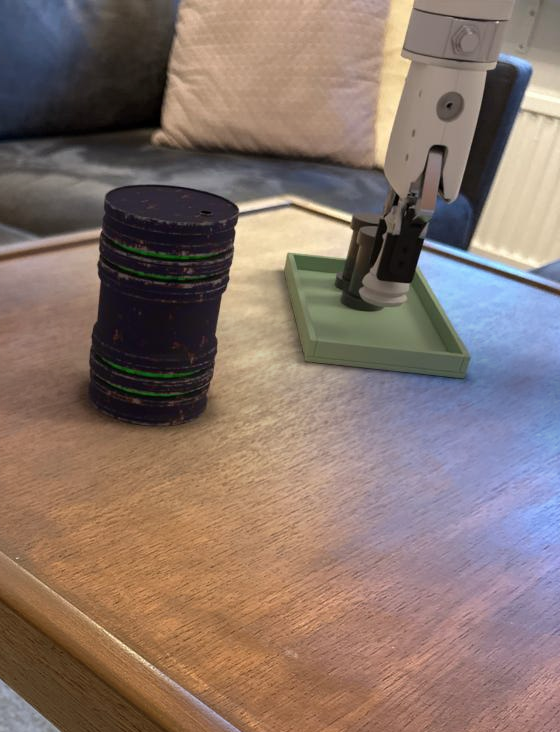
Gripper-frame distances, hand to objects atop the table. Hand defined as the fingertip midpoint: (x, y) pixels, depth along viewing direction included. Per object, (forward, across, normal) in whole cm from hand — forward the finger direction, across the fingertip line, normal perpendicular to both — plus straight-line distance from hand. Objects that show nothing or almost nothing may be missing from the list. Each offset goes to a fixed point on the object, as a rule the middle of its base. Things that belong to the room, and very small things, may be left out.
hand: (390, 271), depth 90 cm
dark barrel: (+7, -19, +21) cm, 29 cm away
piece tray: (+6, +5, 0) cm, 8 cm away
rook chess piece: (+3, 0, 0) cm, 3 cm away
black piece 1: (+6, +13, 0) cm, 14 cm away
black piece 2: (+6, +8, 0) cm, 10 cm away
